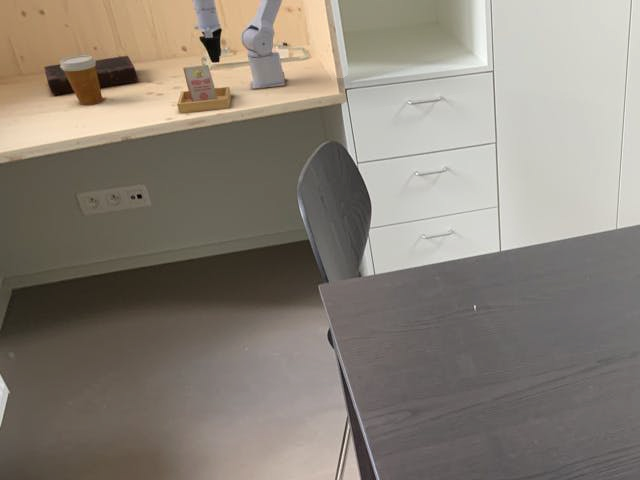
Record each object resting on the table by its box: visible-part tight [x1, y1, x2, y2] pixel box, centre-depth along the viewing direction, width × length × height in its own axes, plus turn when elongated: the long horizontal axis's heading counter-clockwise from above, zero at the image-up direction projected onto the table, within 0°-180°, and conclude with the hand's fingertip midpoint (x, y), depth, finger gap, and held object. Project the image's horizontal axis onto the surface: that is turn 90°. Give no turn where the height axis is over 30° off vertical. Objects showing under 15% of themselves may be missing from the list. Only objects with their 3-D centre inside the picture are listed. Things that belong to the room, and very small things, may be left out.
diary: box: [43, 55, 139, 96], centre depth 249 cm, size 19×25×5 cm
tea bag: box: [182, 64, 217, 102], centre depth 224 cm, size 4×7×10 cm, turn 106°
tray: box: [176, 86, 232, 114], centre depth 227 cm, size 14×13×2 cm
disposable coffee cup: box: [60, 54, 103, 106], centre depth 230 cm, size 10×10×12 cm
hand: (216, 59), depth 229 cm, fingers open, 7 cm apart
